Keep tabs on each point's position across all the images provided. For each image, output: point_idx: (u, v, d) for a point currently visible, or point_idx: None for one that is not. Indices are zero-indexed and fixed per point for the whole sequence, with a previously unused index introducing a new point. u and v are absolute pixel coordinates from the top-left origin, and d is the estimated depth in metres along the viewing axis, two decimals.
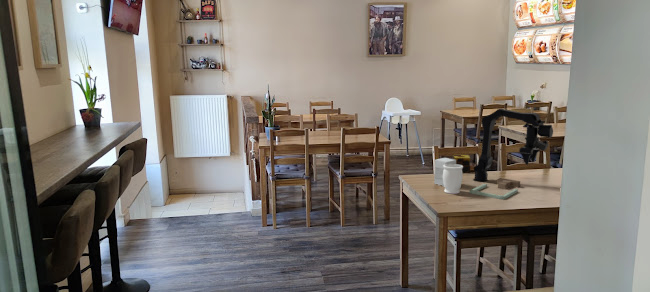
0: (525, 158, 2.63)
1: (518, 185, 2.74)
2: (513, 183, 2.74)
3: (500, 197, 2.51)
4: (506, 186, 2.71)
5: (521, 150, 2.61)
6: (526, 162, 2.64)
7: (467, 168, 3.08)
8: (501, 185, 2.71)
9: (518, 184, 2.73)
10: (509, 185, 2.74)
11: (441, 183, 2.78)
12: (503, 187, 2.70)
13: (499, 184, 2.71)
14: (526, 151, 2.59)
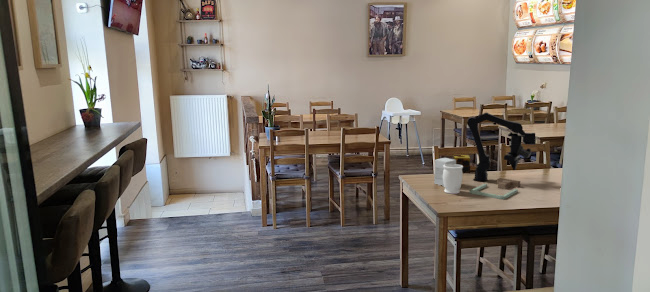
0: (512, 163, 2.81)
1: (518, 185, 2.74)
2: (513, 183, 2.74)
3: (500, 197, 2.51)
4: (506, 186, 2.71)
5: (505, 157, 2.75)
6: (513, 167, 2.82)
7: (467, 168, 3.08)
8: (501, 185, 2.71)
9: (518, 184, 2.73)
10: (509, 185, 2.74)
11: (441, 183, 2.78)
12: (503, 187, 2.70)
13: (499, 184, 2.71)
14: (510, 158, 2.74)
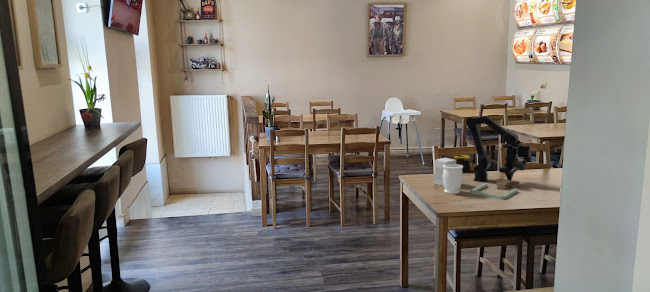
0: (508, 175, 2.78)
1: (517, 185, 2.73)
2: (512, 183, 2.73)
3: (500, 197, 2.51)
4: (505, 186, 2.70)
5: (501, 170, 2.72)
6: None
7: (467, 168, 3.08)
8: (500, 185, 2.69)
9: (517, 184, 2.73)
10: (508, 185, 2.73)
11: (441, 183, 2.78)
12: (502, 187, 2.69)
13: (498, 184, 2.70)
14: (505, 171, 2.70)
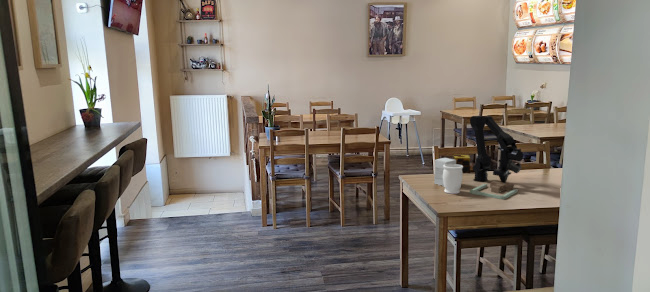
0: (502, 178, 2.71)
1: (512, 189, 2.66)
2: (506, 186, 2.67)
3: (500, 197, 2.51)
4: (499, 190, 2.63)
5: (494, 173, 2.65)
6: (503, 182, 2.72)
7: (467, 168, 3.08)
8: (494, 189, 2.63)
9: (512, 187, 2.66)
10: (502, 189, 2.67)
11: (441, 183, 2.78)
12: (496, 191, 2.62)
13: (492, 188, 2.64)
14: (499, 174, 2.64)
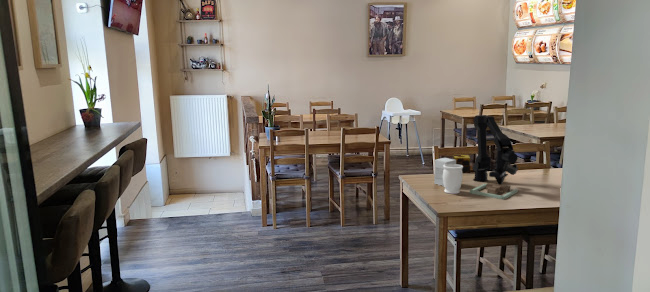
0: (498, 180, 2.68)
1: (508, 190, 2.63)
2: (503, 188, 2.63)
3: (500, 197, 2.51)
4: (496, 191, 2.60)
5: (491, 174, 2.62)
6: (499, 184, 2.69)
7: (467, 168, 3.08)
8: (490, 190, 2.60)
9: (508, 189, 2.63)
10: (499, 190, 2.63)
11: (441, 183, 2.78)
12: (492, 193, 2.59)
13: (488, 189, 2.60)
14: (495, 175, 2.60)
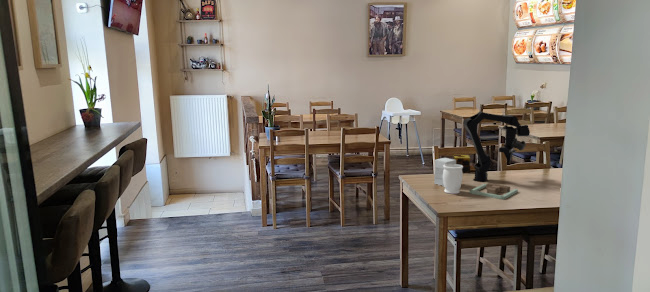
0: (507, 156, 2.87)
1: (508, 190, 2.63)
2: (503, 188, 2.63)
3: (500, 197, 2.51)
4: (495, 192, 2.60)
5: (500, 150, 2.81)
6: (508, 160, 2.87)
7: (467, 168, 3.08)
8: (490, 191, 2.60)
9: (508, 189, 2.63)
10: (498, 190, 2.63)
11: (441, 183, 2.78)
12: (492, 193, 2.59)
13: (488, 190, 2.60)
14: (505, 151, 2.79)
